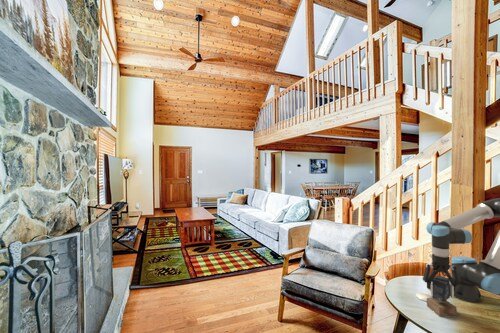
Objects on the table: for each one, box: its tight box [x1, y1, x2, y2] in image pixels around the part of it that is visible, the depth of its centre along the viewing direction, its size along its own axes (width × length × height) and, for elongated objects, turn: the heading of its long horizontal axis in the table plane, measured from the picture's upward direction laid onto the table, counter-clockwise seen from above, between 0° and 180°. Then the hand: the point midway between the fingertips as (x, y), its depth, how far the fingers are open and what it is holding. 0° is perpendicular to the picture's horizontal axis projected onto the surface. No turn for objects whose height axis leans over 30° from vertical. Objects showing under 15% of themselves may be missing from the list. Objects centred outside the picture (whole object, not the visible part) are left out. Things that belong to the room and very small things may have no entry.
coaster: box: [415, 292, 432, 303], centre depth 144 cm, size 9×9×1 cm
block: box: [426, 298, 458, 317], centre depth 131 cm, size 9×9×5 cm
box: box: [431, 274, 451, 302], centre depth 131 cm, size 8×6×11 cm
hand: (440, 295), depth 131 cm, fingers closed on box, 9 cm apart
